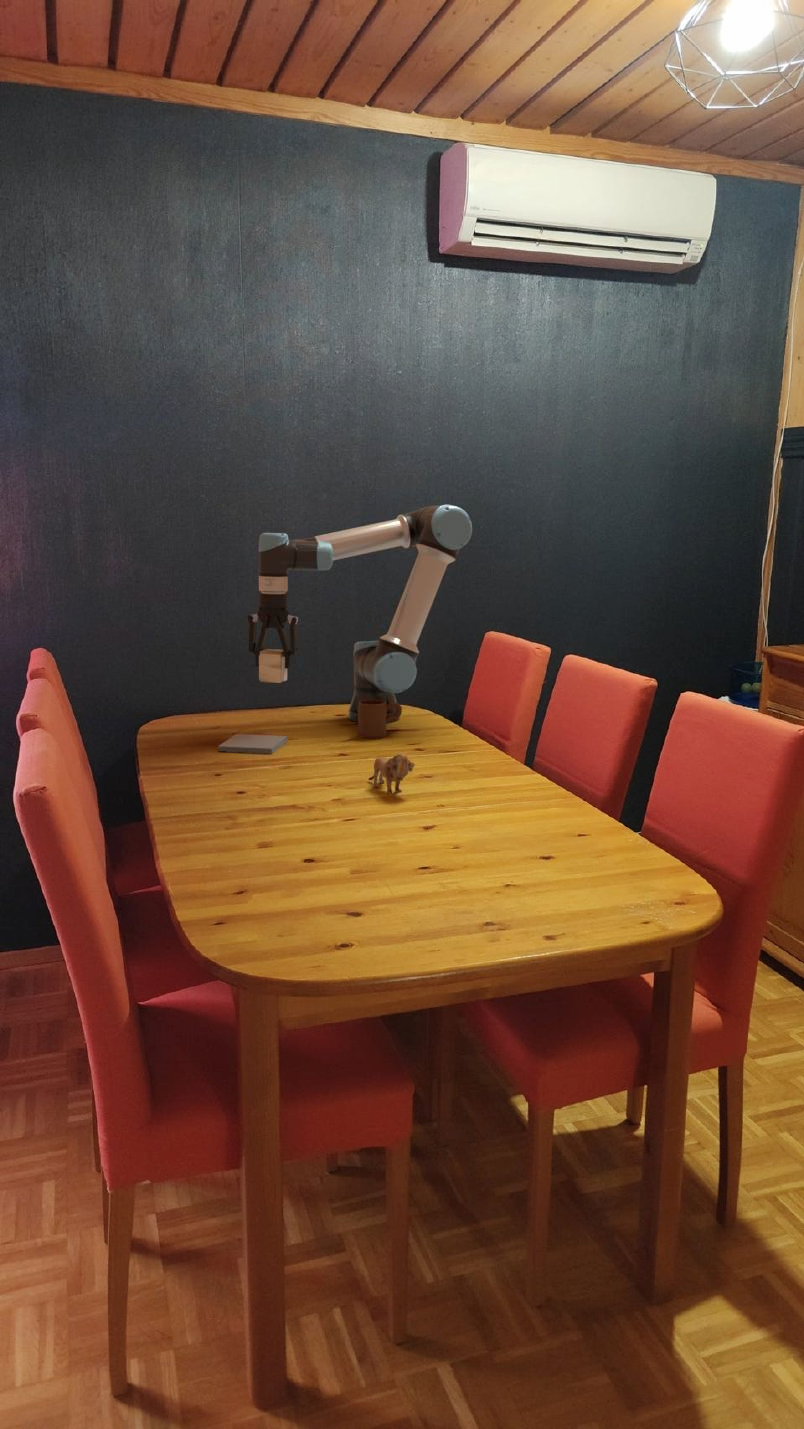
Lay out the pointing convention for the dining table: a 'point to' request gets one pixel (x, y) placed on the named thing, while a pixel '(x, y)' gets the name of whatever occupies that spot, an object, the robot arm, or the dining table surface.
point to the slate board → (253, 743)
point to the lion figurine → (391, 771)
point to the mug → (375, 718)
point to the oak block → (270, 665)
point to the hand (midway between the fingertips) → (273, 679)
